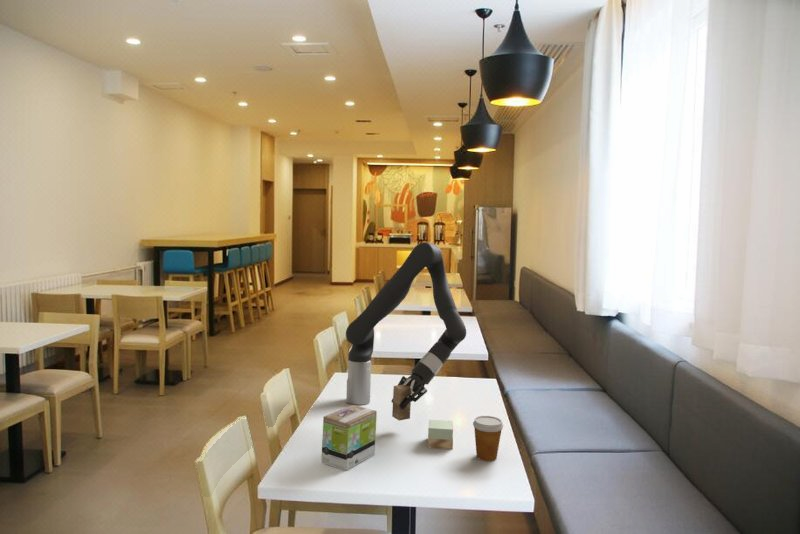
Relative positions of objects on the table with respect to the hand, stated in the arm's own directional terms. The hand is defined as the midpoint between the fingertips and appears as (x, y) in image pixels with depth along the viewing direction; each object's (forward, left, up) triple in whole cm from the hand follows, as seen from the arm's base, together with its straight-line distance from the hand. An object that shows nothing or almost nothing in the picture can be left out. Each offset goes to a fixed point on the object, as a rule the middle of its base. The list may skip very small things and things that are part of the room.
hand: (397, 405), depth 201 cm
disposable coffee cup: (+30, -17, -10) cm, 36 cm away
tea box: (-13, -24, -10) cm, 29 cm away
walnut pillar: (+1, +1, -5) cm, 5 cm away
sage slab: (+15, -8, -7) cm, 18 cm away
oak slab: (+15, -8, -10) cm, 20 cm away
